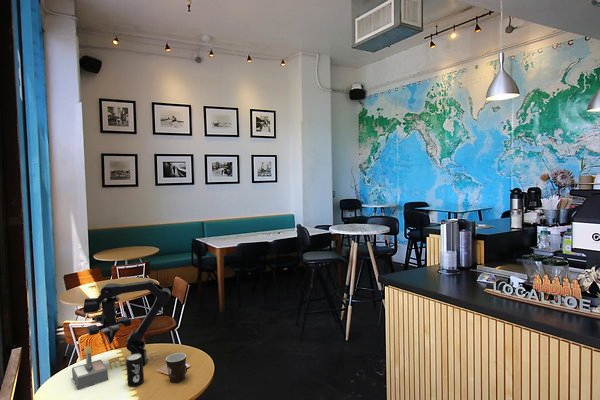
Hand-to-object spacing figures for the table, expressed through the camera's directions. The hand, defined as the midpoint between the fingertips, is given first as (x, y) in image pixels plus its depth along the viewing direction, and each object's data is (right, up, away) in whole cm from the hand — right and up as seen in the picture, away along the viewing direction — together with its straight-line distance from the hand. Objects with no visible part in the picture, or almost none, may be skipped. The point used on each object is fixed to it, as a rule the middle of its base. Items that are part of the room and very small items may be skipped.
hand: (110, 343), depth 191 cm
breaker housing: (-5, -13, -9) cm, 16 cm away
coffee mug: (+36, -12, -14) cm, 40 cm away
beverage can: (+18, -12, -14) cm, 26 cm away
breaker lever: (-5, -7, -10) cm, 13 cm away
